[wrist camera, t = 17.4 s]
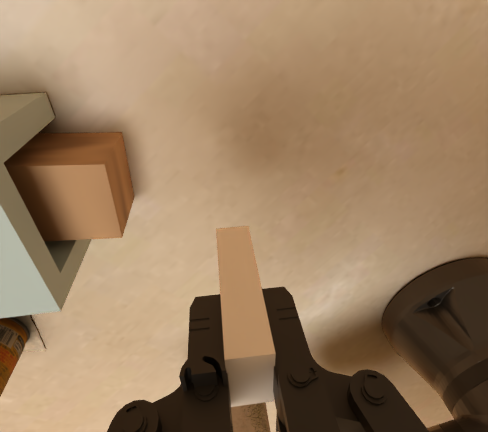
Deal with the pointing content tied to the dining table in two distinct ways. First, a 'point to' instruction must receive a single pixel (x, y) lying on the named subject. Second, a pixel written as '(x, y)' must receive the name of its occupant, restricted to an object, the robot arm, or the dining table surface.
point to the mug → (250, 418)
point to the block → (29, 224)
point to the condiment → (16, 343)
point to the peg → (74, 184)
